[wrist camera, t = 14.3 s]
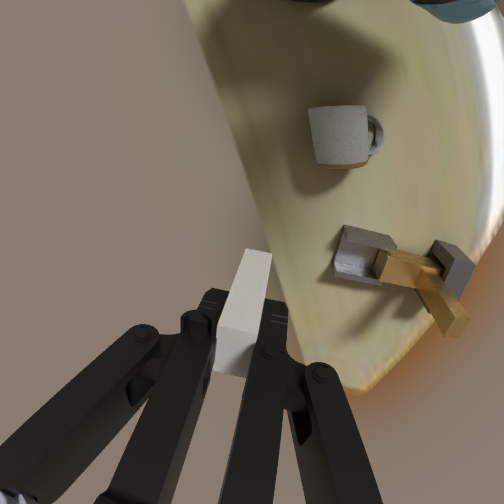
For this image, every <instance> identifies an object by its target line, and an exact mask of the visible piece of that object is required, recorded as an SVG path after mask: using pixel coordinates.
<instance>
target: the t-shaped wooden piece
mask: <svg viewBox="0 0 504 504" xmlns="http://www.w3.org/2000/svg"><path fill="white" fill-rule="evenodd" d="M445 269H446V267H445V266H444V265H443V264H442V263H441V261H439V260H435V259H431V258H428V257H424V256H420V255H416V254H412V253H408V252H404V251H400V250H396V251H395V252H392V251H388V250H383V249H380V250H379V253H378V256H377V258H376V261H375V264H374V266H373V270H374V272H375V274H376V276H377V278H378V281H380V282H385V283H391V284H396V285H401V286H406V287H411V288H416V289H417V290H418V291H419V293H420V295H421V296H422V298H423V300H424V302H425V303H426V305H427V307H428V309H429V310H430V312H431V314H432V316H433V318H434V320H435V321H436V323H437V325H438V327H439V329H440V331H441V333H442V335H443V336H444V337H455V338H459V337H460V336H461V334H462V332H463V331H464V330H465V328H466V326H467V325H468V323H469V321H470V318H469V317H468V315H467V314H466V312H465V311H464V309H463V308H462V307H461V305H460V303H459V302H458V300H457V299H456V298H455V296H454V295H453V293H452V292H451V291H450V289H449V288H448V286H447V285H446V284H445V282H444V281H443V280H442V276H443V274H444V271H445Z"/></svg>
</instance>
